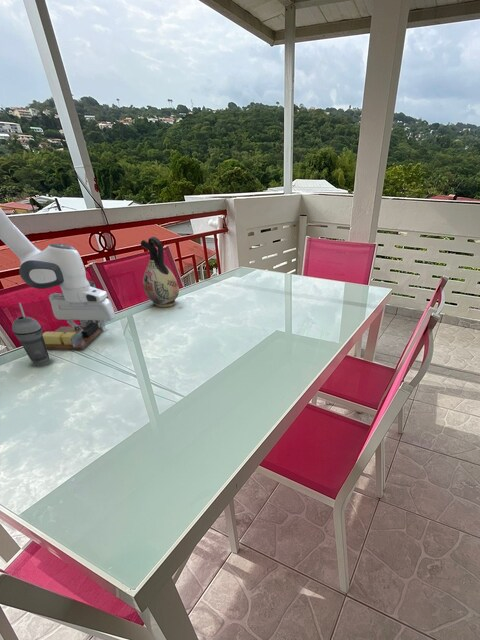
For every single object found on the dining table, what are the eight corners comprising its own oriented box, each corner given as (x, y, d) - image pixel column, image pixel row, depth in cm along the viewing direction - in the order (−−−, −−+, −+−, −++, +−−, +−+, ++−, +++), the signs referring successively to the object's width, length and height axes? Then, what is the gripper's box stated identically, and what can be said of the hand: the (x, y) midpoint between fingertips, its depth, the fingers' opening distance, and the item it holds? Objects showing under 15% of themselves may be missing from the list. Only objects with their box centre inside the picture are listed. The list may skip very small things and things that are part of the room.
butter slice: (64, 344, 116) (61, 336, 115) (70, 339, 120) (67, 332, 118) (73, 344, 117) (70, 336, 115) (78, 339, 120) (75, 332, 118)
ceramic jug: (140, 304, 157) (124, 235, 140) (167, 297, 167) (156, 231, 150) (162, 313, 149) (149, 240, 132) (190, 304, 160) (180, 236, 143)
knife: (70, 347, 115) (67, 338, 113) (92, 328, 129) (90, 320, 127) (77, 347, 115) (74, 338, 113) (99, 328, 129) (96, 320, 127)
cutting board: (34, 349, 115) (33, 346, 114) (62, 329, 129) (61, 326, 129) (82, 350, 116) (81, 347, 115) (104, 330, 131) (103, 327, 130)
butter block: (42, 344, 116) (39, 336, 114) (49, 339, 119) (45, 331, 117) (60, 344, 116) (57, 336, 115) (66, 339, 120) (63, 331, 118)
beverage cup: (38, 357, 110) (12, 298, 99) (60, 358, 110) (36, 299, 99) (23, 367, 104) (-7, 306, 93) (46, 369, 104) (18, 307, 93)
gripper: (41, 295, 113) (56, 333, 121) (103, 297, 115) (114, 334, 123) (52, 290, 119) (65, 326, 126) (111, 292, 120) (120, 327, 128)
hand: (90, 330), depth 125 cm, fingers open, 8 cm apart
